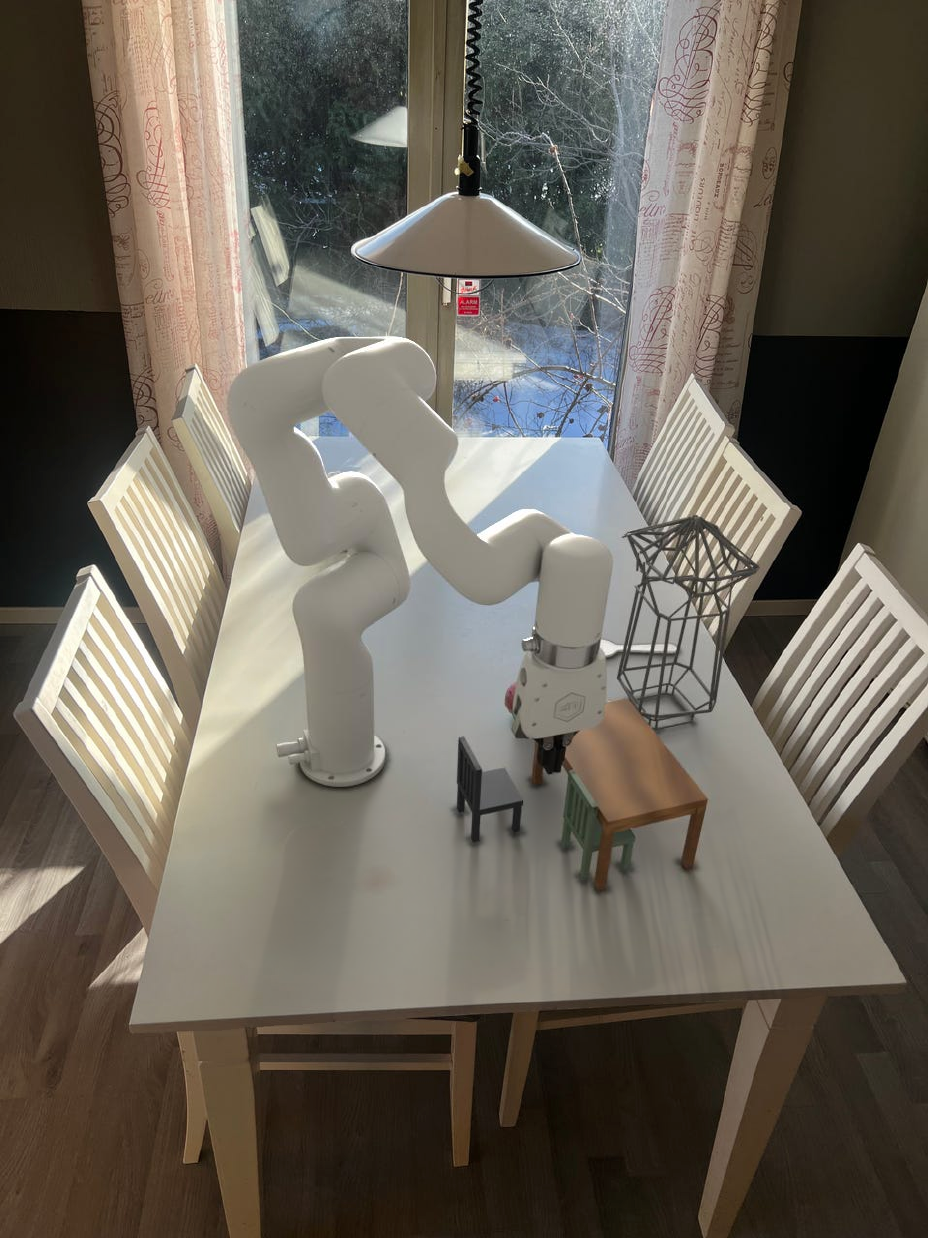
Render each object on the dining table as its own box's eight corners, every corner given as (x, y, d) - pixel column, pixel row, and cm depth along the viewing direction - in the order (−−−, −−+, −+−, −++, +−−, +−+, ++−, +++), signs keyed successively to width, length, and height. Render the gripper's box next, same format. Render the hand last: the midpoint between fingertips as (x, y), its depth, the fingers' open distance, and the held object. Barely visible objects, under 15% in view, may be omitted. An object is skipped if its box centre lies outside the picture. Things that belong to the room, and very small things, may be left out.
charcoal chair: (472, 843, 132) (476, 770, 126) (455, 808, 138) (458, 737, 131) (520, 832, 135) (527, 760, 128) (502, 798, 140) (507, 727, 133)
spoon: (679, 658, 172) (680, 655, 171) (576, 657, 171) (577, 655, 170) (673, 641, 176) (673, 638, 176) (572, 640, 175) (573, 638, 175)
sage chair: (581, 881, 127) (592, 807, 121) (559, 843, 133) (568, 770, 126) (630, 868, 130) (643, 795, 123) (606, 832, 135) (617, 760, 128)
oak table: (597, 891, 126) (607, 822, 120) (531, 780, 144) (537, 715, 137) (693, 866, 131) (708, 798, 124) (617, 761, 148) (627, 697, 142)
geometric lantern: (683, 679, 166) (719, 489, 148) (728, 737, 154) (773, 537, 135) (596, 691, 163) (622, 497, 144) (634, 752, 150) (668, 548, 131)
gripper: (516, 672, 105) (503, 799, 115) (641, 651, 110) (618, 775, 120) (491, 633, 111) (481, 757, 121) (611, 615, 116) (591, 736, 126)
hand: (549, 766), depth 120 cm, fingers closed
